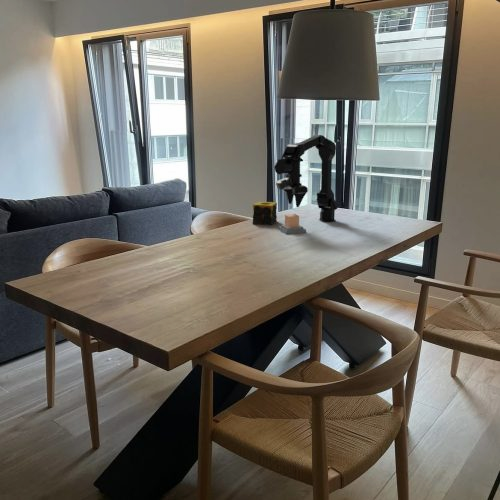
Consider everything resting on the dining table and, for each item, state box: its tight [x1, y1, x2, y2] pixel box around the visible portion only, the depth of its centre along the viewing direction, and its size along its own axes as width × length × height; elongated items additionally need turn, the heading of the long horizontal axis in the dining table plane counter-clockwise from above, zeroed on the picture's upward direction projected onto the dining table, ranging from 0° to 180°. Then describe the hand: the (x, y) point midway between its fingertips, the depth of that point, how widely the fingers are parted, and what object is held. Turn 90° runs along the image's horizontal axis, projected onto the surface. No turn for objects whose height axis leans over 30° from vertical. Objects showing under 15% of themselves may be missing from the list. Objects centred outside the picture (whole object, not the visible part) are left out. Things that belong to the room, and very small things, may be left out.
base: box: [277, 223, 307, 235], centre depth 230 cm, size 10×10×2 cm
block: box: [284, 213, 300, 227], centre depth 229 cm, size 5×5×5 cm
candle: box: [252, 201, 278, 226], centre depth 247 cm, size 10×10×10 cm
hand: (293, 205), depth 231 cm, fingers open, 9 cm apart
